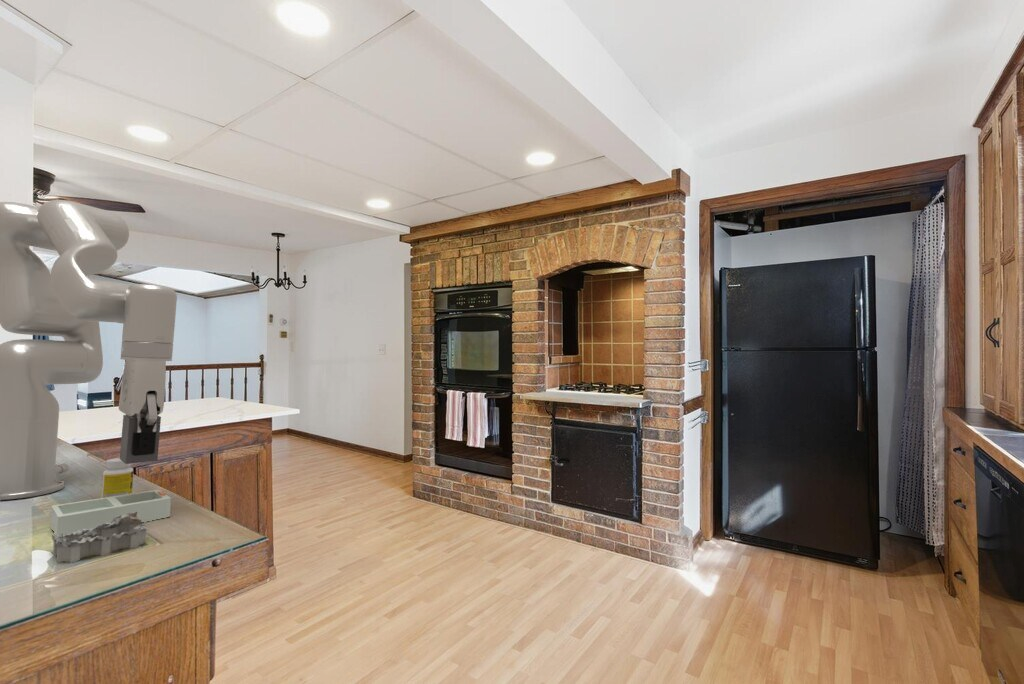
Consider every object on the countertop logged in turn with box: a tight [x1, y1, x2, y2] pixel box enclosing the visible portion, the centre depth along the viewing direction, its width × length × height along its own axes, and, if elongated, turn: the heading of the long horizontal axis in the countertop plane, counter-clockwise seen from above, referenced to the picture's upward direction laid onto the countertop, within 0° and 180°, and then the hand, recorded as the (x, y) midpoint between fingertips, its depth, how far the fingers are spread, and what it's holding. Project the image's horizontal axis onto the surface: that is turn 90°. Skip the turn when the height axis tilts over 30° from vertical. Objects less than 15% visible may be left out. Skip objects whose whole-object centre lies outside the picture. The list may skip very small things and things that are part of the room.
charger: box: [119, 413, 162, 465], centre depth 87 cm, size 5×5×8 cm
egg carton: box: [51, 512, 149, 563], centre depth 73 cm, size 11×8×4 cm
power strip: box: [49, 489, 172, 536], centre depth 84 cm, size 15×8×4 cm, turn 140°
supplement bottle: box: [100, 457, 134, 498], centre depth 94 cm, size 5×5×8 cm
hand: (139, 450), depth 87 cm, fingers closed on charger, 4 cm apart
